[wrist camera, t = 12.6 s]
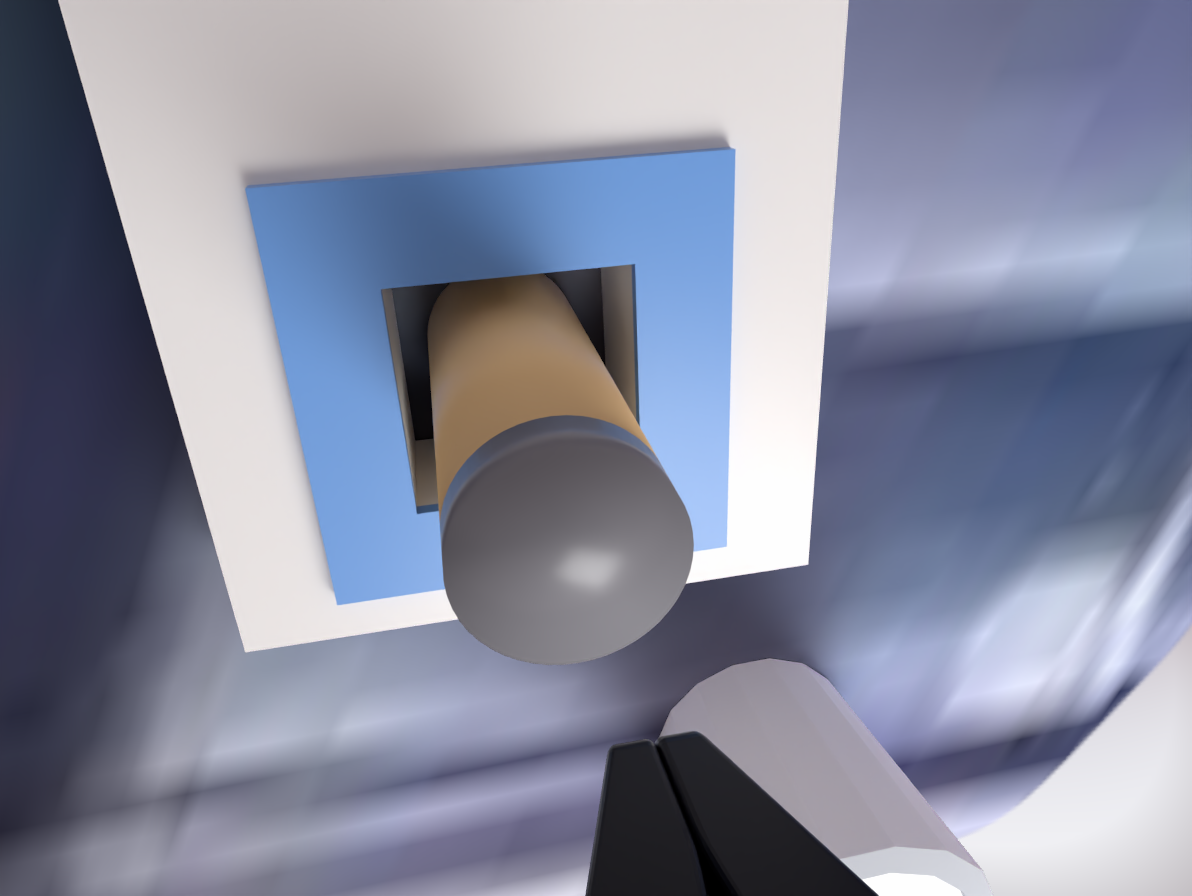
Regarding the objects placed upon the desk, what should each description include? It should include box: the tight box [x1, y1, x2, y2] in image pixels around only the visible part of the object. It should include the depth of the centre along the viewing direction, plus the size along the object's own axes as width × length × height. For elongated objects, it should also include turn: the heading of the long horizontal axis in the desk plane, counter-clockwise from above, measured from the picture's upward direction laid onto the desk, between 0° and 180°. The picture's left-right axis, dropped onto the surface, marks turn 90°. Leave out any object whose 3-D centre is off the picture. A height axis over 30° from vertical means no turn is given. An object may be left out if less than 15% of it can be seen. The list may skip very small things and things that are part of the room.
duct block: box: [58, 0, 849, 652], centre depth 15 cm, size 12×22×3 cm, turn 2°
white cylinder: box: [659, 658, 994, 896], centre depth 23 cm, size 7×7×7 cm
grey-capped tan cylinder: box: [427, 273, 694, 665], centre depth 15 cm, size 3×3×9 cm
